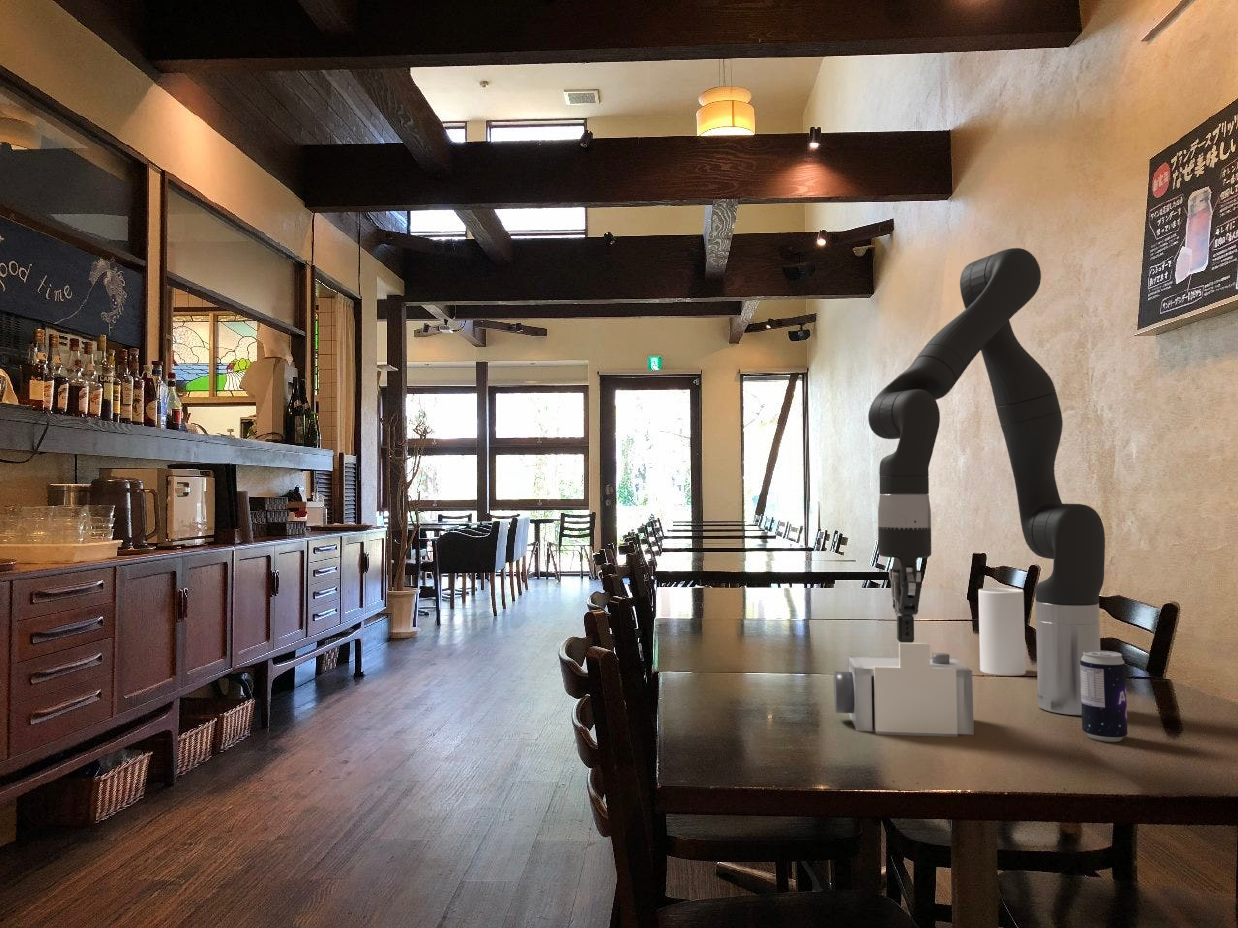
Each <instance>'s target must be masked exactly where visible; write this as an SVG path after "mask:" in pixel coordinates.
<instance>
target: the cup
mask: <svg viewBox="0 0 1238 928" xmlns="http://www.w3.org/2000/svg"><path fill="white" fill-rule="evenodd" d="M977 591H978V592H977V593H978V596H977V597H978V629H979V631H978V633H979V634H978V635H979V670H980V672H981V673H985V674H988V675H994V676H1004V677H1005V676H1006V677H1007V676H1008V677H1014V676H1015V677H1016V676H1023V675H1025V674H1026V672H1027V671H1026V639H1025V637H1026V636H1025V635H1026V634H1025V633H1026V631H1025V597H1024V596H1025V593H1024V590H1023V589H1017V588H1008V587H1007V588H1006V587H983V588H979V589H978V590H977Z"/></svg>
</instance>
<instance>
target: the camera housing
mask: <svg viewBox="0 0 1238 928" xmlns="http://www.w3.org/2000/svg"><path fill="white" fill-rule="evenodd" d="M874 666H897V667H899V656H869V655H867V656H866V655H863V656H862V655H861V656H860V655H859V656H857V655H848V656H847V669H848V670H847V671H834V672H833V700H834V701H833V702H834V711H835V713H836V714H848V715H849V718H850V720H851V722H852V724H853V726H854V729H855V731H856V732H875V705H874ZM930 667H945V668H955V669H956V689H957V734H958V735H974V689H973V688H974V686H973V670H972V669H970V668H969V667H968V666H967V665H965V664H964V663H963V662H961V661H960V660H959V659H958V658H956V657H950V653H944V652H936V653H935V652H934V653H932V657H930Z"/></svg>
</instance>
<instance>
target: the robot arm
mask: <svg viewBox="0 0 1238 928" xmlns="http://www.w3.org/2000/svg"><path fill="white" fill-rule="evenodd" d="M1041 280H1042V272H1041V267H1040V265H1039V262H1038V260H1037V258H1036V257H1035V255H1033V254H1032V252H1030V251H1029V250H1027V249H1024V248H1021V247H1014V248H1006V249H1003V250H1000V251H998V252H995V253H992V254H990V255H988V256H985V257H982V258H980V259H977V260H975V261H972V262H970V263H968V264H967V265H965V267H964V268H963V270H962V271H961V274H960V279H959V287H960V296H961V299H962V303H963V306H964V308H965V309H964V310H963V311H962V312H961V313H959V314H958V315H957V316H956V317H954V319H952V320H951V321H950V322H949V323H947V324H946V325H945V326H944V327H942V328H941V329H940V330H939V331H938V332H936V333H935V335H933V337H932V338H930V340H928V341H927V343H926V344H925V346H924V347H923V349H922V350H921V351H920V352H919V354H918V355H917V356H916V358H915V359H914V360H913V362H912V363H911V364H910V366H909V367H908V368H907V369H906V370H904V371H903V372H902V373H900V374H899V375H897V377H896V378H894V379H893V380H892V381H891V382H889V383H888V384H887V385H886V386H885V387H884V388H883V389H882V390H881V391H880V392H878V394H877V395H876V396H875V398H874V399H873V401H872V402H871V404H870V407H869V411H868V426H869V428H870V429H871V431H872V432H873V434H874V435H875V436H878V437H879V438H882V439H885V440H898V443H897V447H896V450H895V451H894V452H892V453H890V454H888V455H886V456H884V457H883V458H882V459H881V460H880V462H879V469H878V471H879V477H878V478H879V497H878V498H879V500H878V506H877V534H878V535H877V538H878V539H877V541H878V542H877V543H878V545H877V546H878V548H877V550H878V555H879V556H880V557H883V558H893V564H892V566H893V568H889V575H888V576H889V577H888V578H889V581H890V589H891V599H892V608H893V610H894V614H895V616H896V639H897V641H898V643H899V642H902V643H915V642H914V641H915V618H916V615H918V613H919V606H920V605H919V604H920V599H921V593H922V587H923V585H922V572H921V571H922V570H918V567H917V559H919V558H920V559H923V558H924V559H925V558H929V557H931V556H932V508H931V502H930V492H929V491H930V489H929V488H930V487H929V486H930V485H929V484H930V483H929V479H930V478H929V476H930V474H929V472H930V471H929V467H930V464H931V463H930V462H931V460H932V456H933V453H934V448H935V445H936V440H937V436H938V433H939V429H940V428H939V427H940V423H941V412H940V409H939V405H938V402H937V400H940V399H942V398H944V397H945V396H946V395H947V394H949V392H951V390H952V389H953V387H954V386H956V384H957V382H958V380H959V379H960V378H961V377H962V375H963V374H964V373H965V371H966V370H967V368H968V366H970V364H971V362H972V361H973V360H974V359H975V357H977V356H978V353H980V351H981V355H982V356H981V357H982V358H983V361H984V366H985V369H986V373H987V375H988V379H989V383H990V386H991V390H992V396H993V400H994V406H995V409H996V413H997V417H998V421H999V423H1000V428H1001V431H1002V434H1003V436H1004V440H1005V445H1006V449H1007V452H1008V458H1009V461H1010V466H1011V470H1012V475H1013V479H1014V483H1015V484H1014V485H1015V489H1016V490H1015V491H1016V497H1017V505H1018V511H1019V518H1020V526H1021V530H1022V534H1023V538H1024V540H1025V543H1026V545H1027V547H1028V548H1029V550H1030V551H1032V552H1033V554H1035V555H1036V556H1038V557H1041V558H1043V559H1050V560H1053V562H1052V563H1053V565H1052V573H1051V575H1050V576H1049V577H1048V578H1046V579H1045V580H1042V581H1040V582H1037V584H1036V586H1035V587H1034V588H1035V589H1034V590H1035V591H1034V592H1035V593H1034V594H1035V597H1034V598H1035V630H1036V632H1035V633H1036V636H1035V637H1036V667H1037V669H1036V670H1037V671H1036V672H1037V673H1036V675H1037V678H1036V679H1037V706H1038V707H1039V708H1040V709H1042V710H1044V711H1048V712H1050V713H1055V714H1060V715H1061V714H1063V715H1071V716H1082V705H1081V669H1080V660H1081V658H1082V657H1083V655H1084V654H1083V652H1084V651H1089V650H1100V651H1101V629H1100V628H1101V626H1100V592H1101V590H1102V588H1103V585H1104V582H1105V555H1106V533H1105V528H1104V527H1105V526H1104V524H1103V520H1102V519H1101V516H1100V515H1099V513H1098V512H1097V511H1096V510H1095V509H1094V508H1093V507H1091V506H1089V505H1087V504H1081V503H1063V502H1062V500H1061V497H1060V493H1059V490H1058V486H1057V481H1056V475H1055V467H1056V466H1055V464H1056V458H1057V453H1058V450H1059V446H1060V442H1061V438H1062V437H1061V436H1062V433H1063V432H1062V431H1063V427H1064V426H1063V425H1064V423H1063V415H1062V411H1061V406H1060V401H1059V398H1058V394H1057V392H1056V391H1057V390H1056V387H1055V384H1054V381H1053V379H1052V378H1051V377H1050V375H1049V374H1048V373H1047V371H1046V370H1045V368H1043V366H1042V365H1041V364H1040V363H1039V362H1038V361H1037V360H1036V359H1035V358H1034V357H1033V356H1032V355H1030V353H1029V352H1028V351H1027V350H1026V349H1025V348H1024V347H1023V346H1022V344H1021V343H1020V342H1019V339H1017V337H1016V335H1015V332H1014V331H1013V328H1012V324H1011V321H1010V320H1011V318H1012V317H1013V316H1015V315H1016V314H1017V313H1018V312H1019V311H1020V310H1021V309H1022V308H1023V307H1024V306H1025V305H1027V303H1029V301H1031V299H1033V298H1034V297H1035V295H1036V294H1037V292H1038V291H1039V288H1040V285H1041Z"/></svg>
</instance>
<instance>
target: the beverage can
mask: <svg viewBox="0 0 1238 928" xmlns="http://www.w3.org/2000/svg"><path fill="white" fill-rule="evenodd" d="M1083 654H1084V655H1083V657H1082V658H1081V660H1080V669H1081V705H1082V715H1081V730H1082V731H1083V732H1084V733H1085V734H1086V735H1087V737H1088V738H1090V739H1092V740H1095V741H1099V742H1108V743H1109V742H1111V743H1115V742H1116V743H1117V742H1121V741H1122V740H1123V739H1124V738H1125V737H1126V736H1128V734H1129V733H1128V710H1127V709H1128V705H1127V703H1128V702H1127V701H1128V700H1127V699H1128V698H1127V674H1126V673H1127V671H1126V666H1127V665H1126V662H1125V660H1124V659H1123V654H1121V653H1120V652H1117V651H1111V650H1110V651H1109V650H1101V649H1100V650H1089V651H1084V652H1083Z"/></svg>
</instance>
